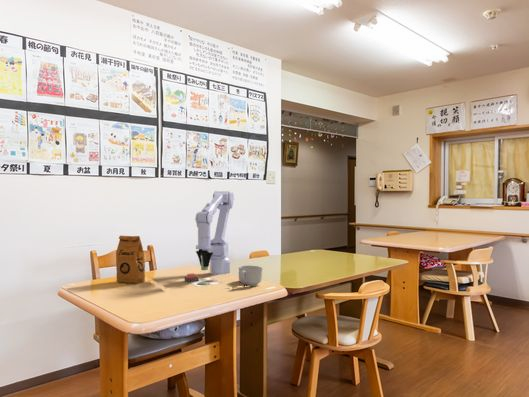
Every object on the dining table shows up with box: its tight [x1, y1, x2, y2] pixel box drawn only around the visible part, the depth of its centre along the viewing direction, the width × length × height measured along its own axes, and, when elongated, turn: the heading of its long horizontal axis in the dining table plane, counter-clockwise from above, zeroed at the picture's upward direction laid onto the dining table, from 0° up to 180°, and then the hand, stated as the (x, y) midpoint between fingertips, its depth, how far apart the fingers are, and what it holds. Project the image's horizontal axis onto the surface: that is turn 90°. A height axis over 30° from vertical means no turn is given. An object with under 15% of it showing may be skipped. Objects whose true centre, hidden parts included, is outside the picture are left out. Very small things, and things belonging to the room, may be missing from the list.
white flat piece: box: [184, 276, 223, 287], centre depth 177 cm, size 13×15×3 cm
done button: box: [186, 272, 197, 279], centre depth 178 cm, size 3×3×2 cm
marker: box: [200, 255, 209, 271], centre depth 182 cm, size 3×3×7 cm
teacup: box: [238, 264, 264, 287], centre depth 175 cm, size 14×11×8 cm
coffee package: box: [115, 235, 146, 285], centre depth 182 cm, size 10×12×22 cm
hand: (204, 266), depth 182 cm, fingers closed on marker, 3 cm apart
